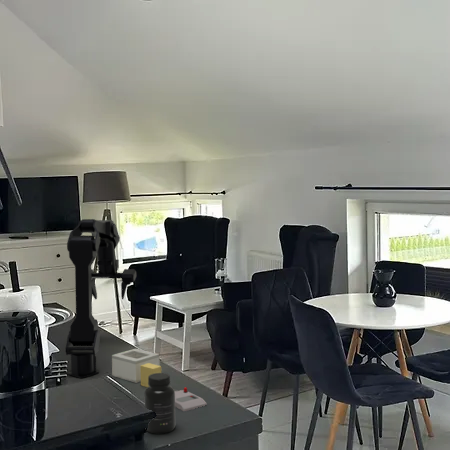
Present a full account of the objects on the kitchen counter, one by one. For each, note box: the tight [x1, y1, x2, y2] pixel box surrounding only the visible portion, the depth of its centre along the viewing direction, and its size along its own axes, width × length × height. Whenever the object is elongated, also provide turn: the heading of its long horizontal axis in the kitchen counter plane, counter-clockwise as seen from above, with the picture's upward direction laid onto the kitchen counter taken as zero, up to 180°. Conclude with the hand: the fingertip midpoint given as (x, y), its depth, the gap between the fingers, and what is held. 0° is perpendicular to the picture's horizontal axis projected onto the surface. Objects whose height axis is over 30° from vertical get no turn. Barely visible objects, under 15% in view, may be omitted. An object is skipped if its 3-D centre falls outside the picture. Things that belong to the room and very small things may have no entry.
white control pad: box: [174, 386, 208, 412], centre depth 155 cm, size 7×16×3 cm, turn 36°
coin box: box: [111, 348, 161, 384], centre depth 176 cm, size 9×10×6 cm
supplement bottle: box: [143, 372, 176, 435], centre depth 138 cm, size 7×7×12 cm
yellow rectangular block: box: [140, 363, 163, 388], centre depth 167 cm, size 3×5×6 cm, turn 50°
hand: (109, 299), depth 212 cm, fingers open, 9 cm apart
